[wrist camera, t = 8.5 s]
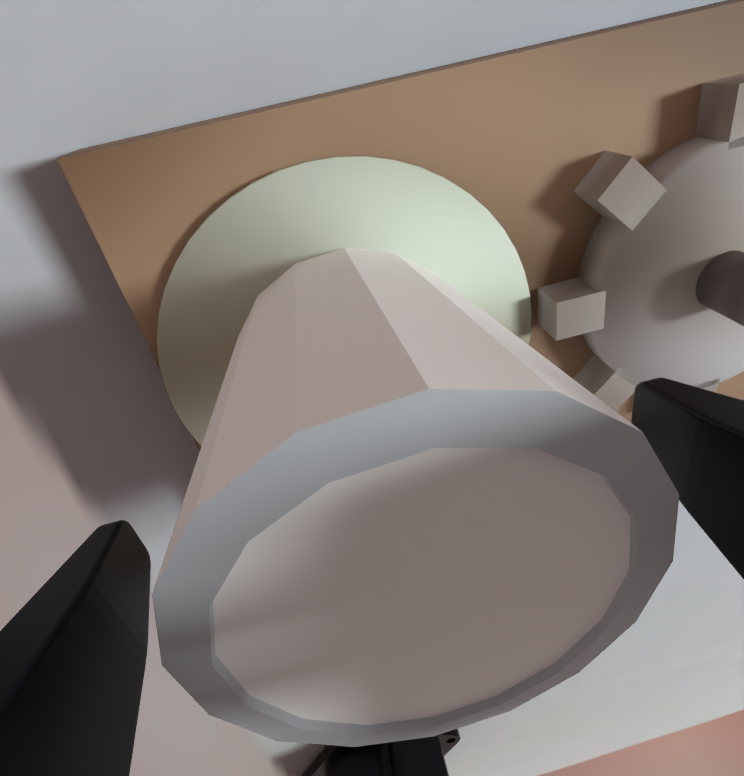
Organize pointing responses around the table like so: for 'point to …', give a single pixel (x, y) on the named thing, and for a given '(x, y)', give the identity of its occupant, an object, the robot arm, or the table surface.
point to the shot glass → (400, 516)
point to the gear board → (462, 205)
